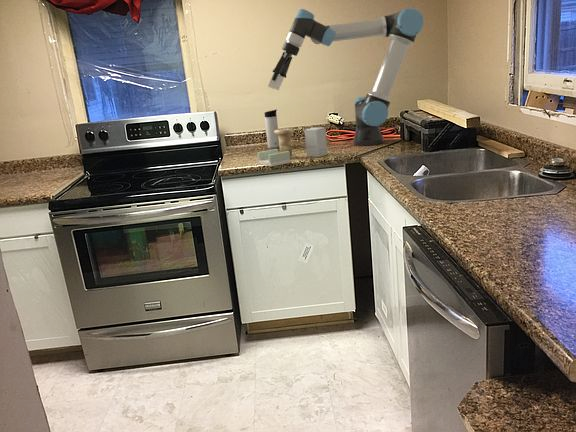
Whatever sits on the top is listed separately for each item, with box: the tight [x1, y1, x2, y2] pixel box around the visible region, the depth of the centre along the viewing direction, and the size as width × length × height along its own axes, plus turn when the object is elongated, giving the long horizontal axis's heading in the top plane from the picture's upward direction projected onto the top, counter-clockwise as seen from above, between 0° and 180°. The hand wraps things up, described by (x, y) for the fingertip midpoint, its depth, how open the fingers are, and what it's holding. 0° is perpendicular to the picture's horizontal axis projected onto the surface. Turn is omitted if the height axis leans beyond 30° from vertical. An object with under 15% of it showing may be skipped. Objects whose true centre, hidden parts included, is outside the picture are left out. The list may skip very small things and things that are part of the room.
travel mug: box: [264, 109, 280, 150], centre depth 271 cm, size 6×7×20 cm
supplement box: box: [303, 127, 328, 158], centre depth 241 cm, size 7×7×13 cm
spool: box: [274, 128, 297, 160], centre depth 242 cm, size 9×9×13 cm
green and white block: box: [256, 148, 291, 167], centre depth 234 cm, size 10×12×5 cm
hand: (273, 88), depth 238 cm, fingers open, 13 cm apart
